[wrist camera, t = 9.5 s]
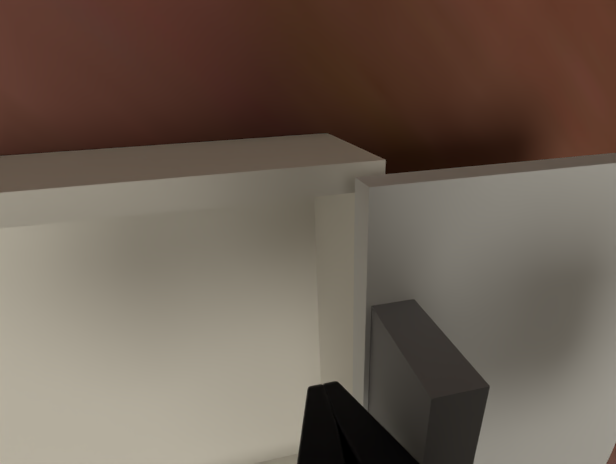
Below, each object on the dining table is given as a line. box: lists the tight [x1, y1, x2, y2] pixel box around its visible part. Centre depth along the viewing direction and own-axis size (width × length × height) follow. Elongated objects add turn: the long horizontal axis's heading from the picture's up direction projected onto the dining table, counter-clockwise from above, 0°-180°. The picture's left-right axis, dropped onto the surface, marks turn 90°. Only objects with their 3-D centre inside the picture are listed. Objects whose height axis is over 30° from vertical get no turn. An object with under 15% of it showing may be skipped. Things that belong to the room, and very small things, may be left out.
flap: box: [352, 153, 616, 464], centre depth 11 cm, size 18×11×4 cm, turn 2°
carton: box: [0, 133, 386, 464], centre depth 14 cm, size 19×22×6 cm
